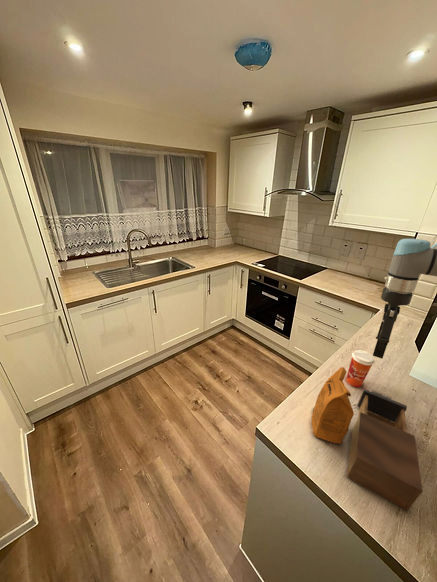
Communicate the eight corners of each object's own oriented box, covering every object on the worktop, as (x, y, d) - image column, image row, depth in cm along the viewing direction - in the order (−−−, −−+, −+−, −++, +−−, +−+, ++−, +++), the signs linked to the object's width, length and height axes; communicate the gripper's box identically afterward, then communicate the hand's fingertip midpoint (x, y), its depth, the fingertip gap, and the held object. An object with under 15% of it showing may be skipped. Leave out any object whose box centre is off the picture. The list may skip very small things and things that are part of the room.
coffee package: (341, 416, 82) (360, 368, 72) (343, 449, 71) (365, 399, 62) (311, 405, 85) (325, 358, 76) (309, 436, 75) (325, 386, 65)
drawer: (358, 394, 89) (364, 379, 86) (397, 410, 84) (405, 394, 80) (354, 436, 74) (361, 420, 71) (401, 459, 68) (411, 443, 65)
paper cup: (344, 386, 94) (354, 359, 88) (342, 372, 100) (351, 347, 94) (366, 392, 91) (377, 365, 85) (363, 378, 98) (373, 352, 92)
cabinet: (351, 431, 77) (360, 411, 73) (402, 455, 70) (414, 435, 66) (346, 477, 65) (356, 456, 61) (406, 511, 58) (422, 491, 54)
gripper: (386, 277, 84) (371, 328, 92) (380, 299, 65) (361, 360, 73) (412, 281, 80) (394, 334, 88) (414, 306, 61) (390, 371, 69)
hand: (379, 346), depth 81 cm, fingers open, 13 cm apart
